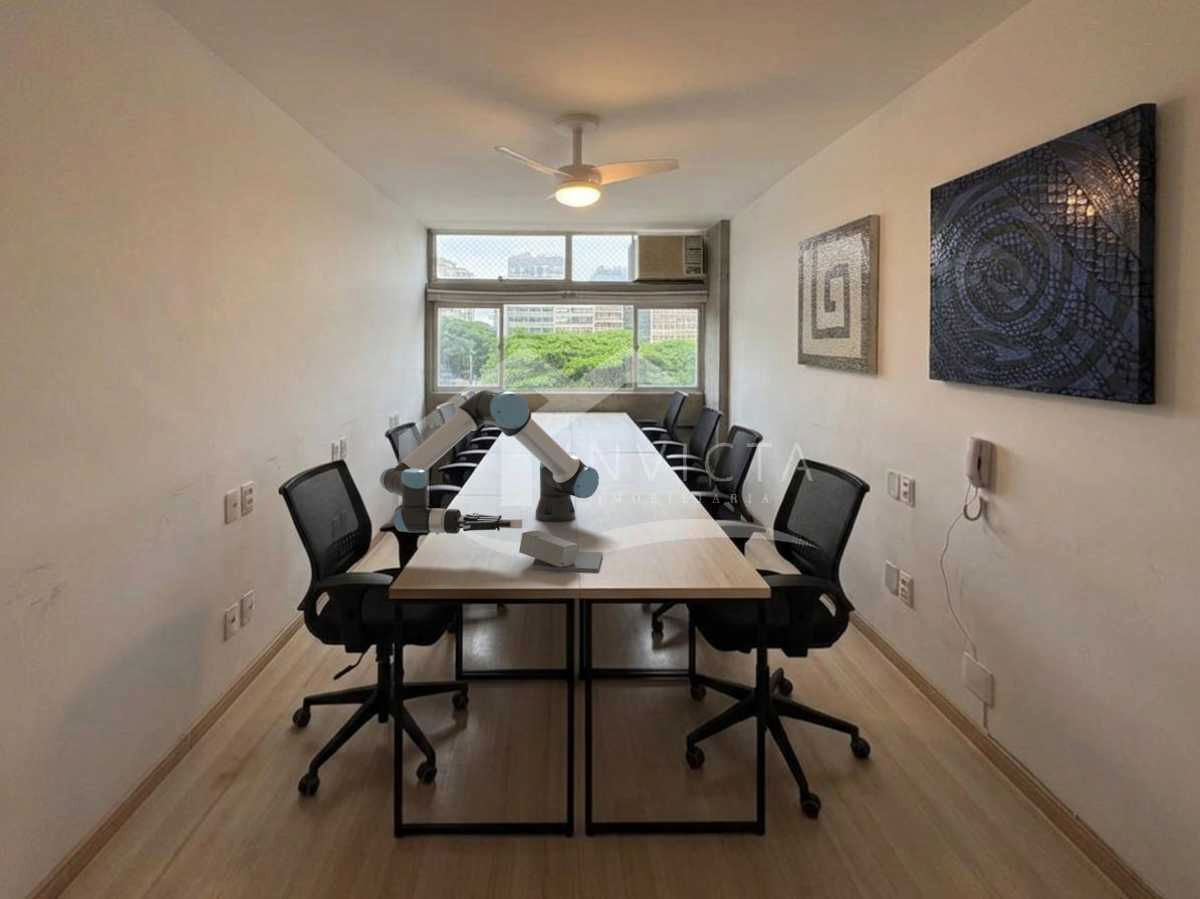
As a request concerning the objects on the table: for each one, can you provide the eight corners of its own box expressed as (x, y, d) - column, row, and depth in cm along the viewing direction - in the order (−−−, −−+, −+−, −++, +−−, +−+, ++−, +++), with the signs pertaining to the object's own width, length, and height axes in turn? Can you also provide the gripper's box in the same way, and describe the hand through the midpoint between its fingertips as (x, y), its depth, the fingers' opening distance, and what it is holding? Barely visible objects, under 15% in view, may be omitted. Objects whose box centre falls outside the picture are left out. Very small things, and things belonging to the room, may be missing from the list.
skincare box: (536, 529, 223) (580, 541, 216) (532, 552, 224) (576, 564, 216) (521, 532, 216) (565, 544, 208) (517, 555, 216) (561, 568, 209)
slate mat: (531, 569, 214) (531, 566, 213) (539, 553, 229) (539, 550, 229) (598, 571, 212) (598, 568, 212) (602, 555, 228) (602, 552, 228)
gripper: (452, 527, 228) (525, 529, 226) (440, 538, 215) (517, 541, 214) (451, 504, 227) (525, 506, 225) (439, 514, 214) (517, 517, 212)
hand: (521, 523), depth 219 cm, fingers closed
